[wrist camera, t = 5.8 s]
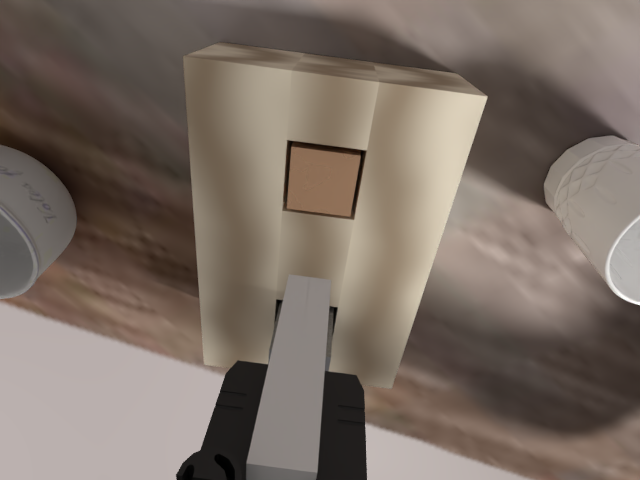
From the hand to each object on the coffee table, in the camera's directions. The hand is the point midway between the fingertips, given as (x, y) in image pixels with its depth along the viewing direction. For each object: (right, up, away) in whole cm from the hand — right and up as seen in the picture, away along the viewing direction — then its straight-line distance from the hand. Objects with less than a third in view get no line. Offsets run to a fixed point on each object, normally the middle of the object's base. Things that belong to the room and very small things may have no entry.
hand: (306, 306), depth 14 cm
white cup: (+21, +7, +15) cm, 27 cm away
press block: (0, +5, +18) cm, 19 cm away
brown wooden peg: (+1, +9, +14) cm, 17 cm away
